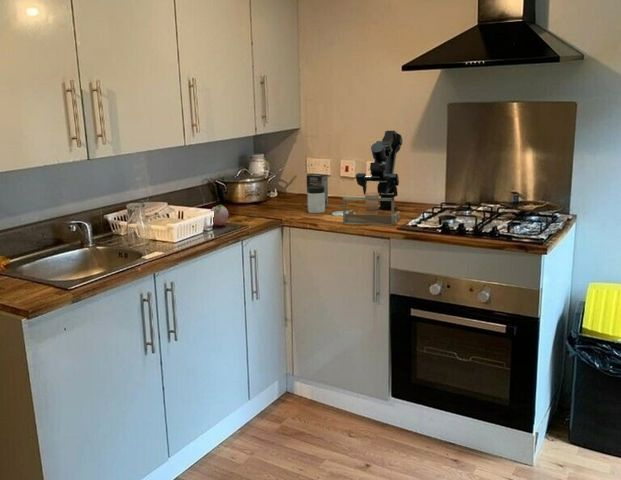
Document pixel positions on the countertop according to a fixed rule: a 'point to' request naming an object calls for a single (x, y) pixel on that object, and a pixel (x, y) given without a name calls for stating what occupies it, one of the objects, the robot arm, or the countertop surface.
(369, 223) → the box
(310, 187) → the jar
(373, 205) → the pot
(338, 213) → the saucer
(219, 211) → the decorative fruit
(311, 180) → the coffee box
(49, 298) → the countertop surface
